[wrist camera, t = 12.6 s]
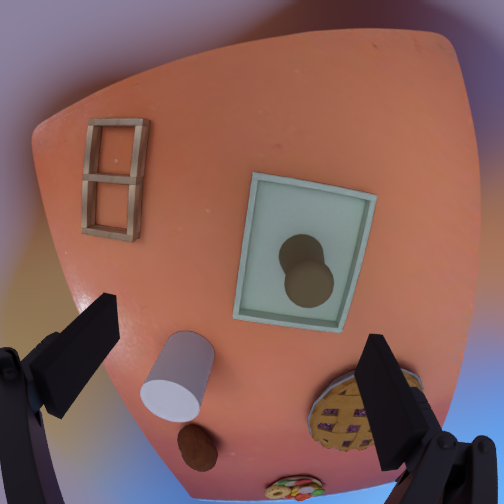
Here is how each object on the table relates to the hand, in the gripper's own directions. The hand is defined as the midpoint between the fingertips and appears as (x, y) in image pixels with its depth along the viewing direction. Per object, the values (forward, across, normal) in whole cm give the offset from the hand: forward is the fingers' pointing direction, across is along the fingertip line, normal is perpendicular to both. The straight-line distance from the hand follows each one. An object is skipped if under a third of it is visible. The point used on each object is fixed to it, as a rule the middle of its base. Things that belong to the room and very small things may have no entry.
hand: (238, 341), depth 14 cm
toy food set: (+26, +18, -62) cm, 70 cm away
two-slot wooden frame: (+26, -21, +4) cm, 34 cm away
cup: (+26, -8, -22) cm, 35 cm away
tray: (+26, +6, -3) cm, 27 cm away
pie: (+26, +24, -29) cm, 46 cm away
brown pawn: (+26, +6, -3) cm, 27 cm away
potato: (+26, -5, -45) cm, 52 cm away
